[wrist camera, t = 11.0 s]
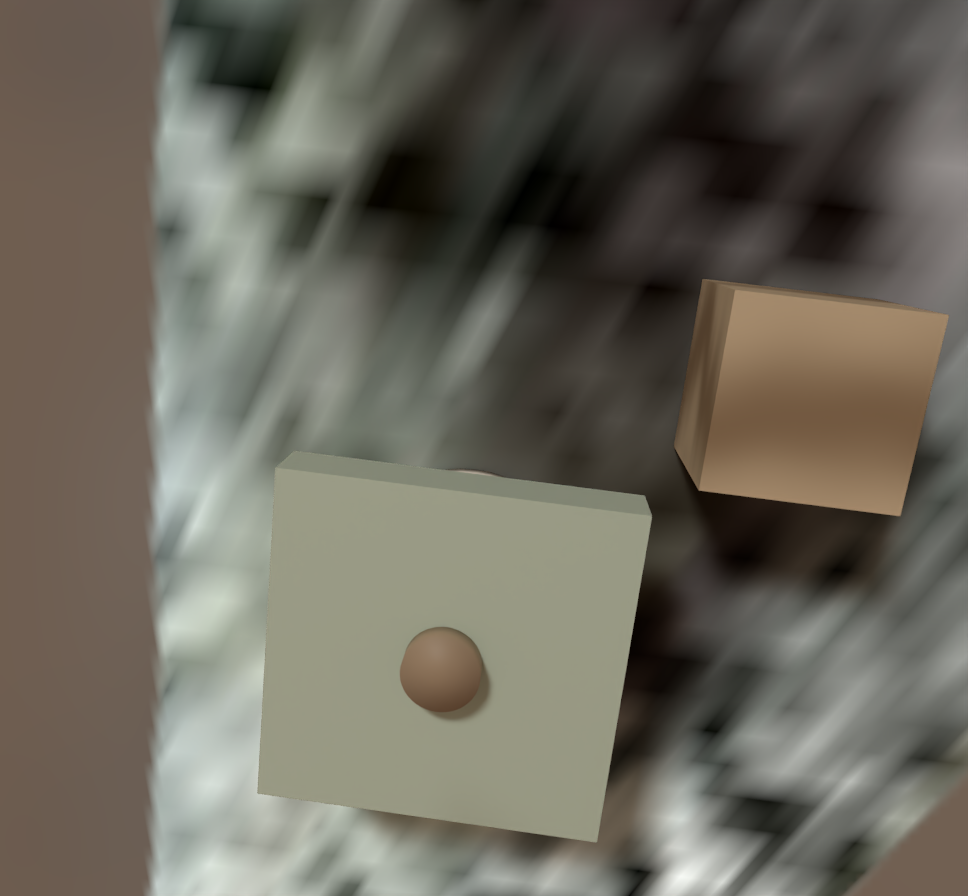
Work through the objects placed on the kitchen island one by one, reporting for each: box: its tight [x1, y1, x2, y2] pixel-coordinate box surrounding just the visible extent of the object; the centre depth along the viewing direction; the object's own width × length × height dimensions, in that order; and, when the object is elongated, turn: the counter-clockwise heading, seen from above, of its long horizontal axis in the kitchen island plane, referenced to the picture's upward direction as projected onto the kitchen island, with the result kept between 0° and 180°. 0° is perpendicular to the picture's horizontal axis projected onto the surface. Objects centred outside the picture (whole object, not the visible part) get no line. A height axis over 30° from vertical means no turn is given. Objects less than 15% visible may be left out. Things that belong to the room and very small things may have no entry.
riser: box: [674, 279, 949, 516], centre depth 28 cm, size 6×6×6 cm
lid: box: [257, 451, 652, 843], centre depth 28 cm, size 11×11×3 cm
